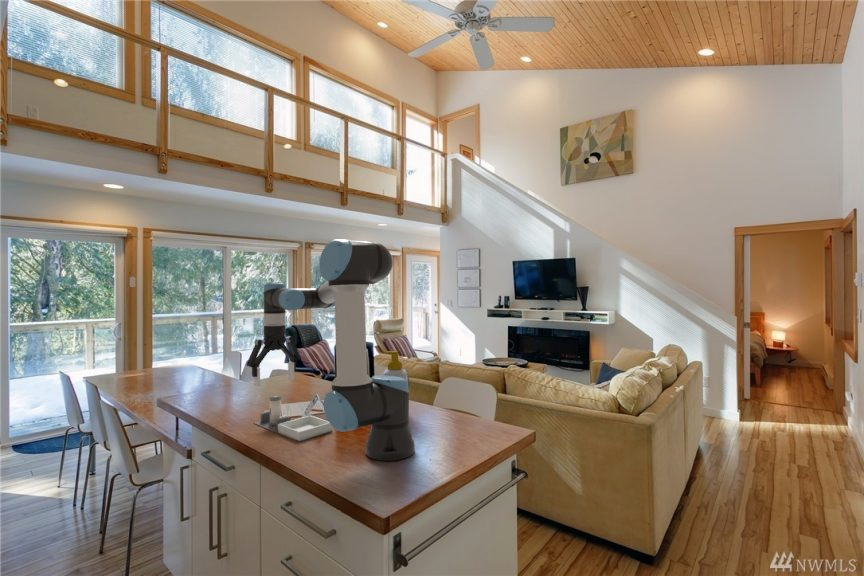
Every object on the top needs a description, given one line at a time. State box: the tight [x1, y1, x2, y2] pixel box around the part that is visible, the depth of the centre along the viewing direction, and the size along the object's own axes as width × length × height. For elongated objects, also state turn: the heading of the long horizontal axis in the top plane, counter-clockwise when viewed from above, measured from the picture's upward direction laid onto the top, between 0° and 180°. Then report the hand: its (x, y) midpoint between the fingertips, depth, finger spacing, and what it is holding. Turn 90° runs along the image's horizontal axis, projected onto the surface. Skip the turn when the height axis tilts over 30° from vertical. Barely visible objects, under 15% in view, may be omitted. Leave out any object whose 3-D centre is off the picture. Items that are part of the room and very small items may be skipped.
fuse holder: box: [253, 409, 292, 433], centre depth 158 cm, size 15×9×4 cm, turn 50°
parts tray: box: [277, 414, 333, 442], centre depth 151 cm, size 13×13×3 cm
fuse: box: [268, 394, 282, 426], centre depth 158 cm, size 4×4×10 cm
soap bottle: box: [382, 350, 407, 380], centre depth 170 cm, size 9×9×25 cm
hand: (274, 382), depth 158 cm, fingers open, 13 cm apart
